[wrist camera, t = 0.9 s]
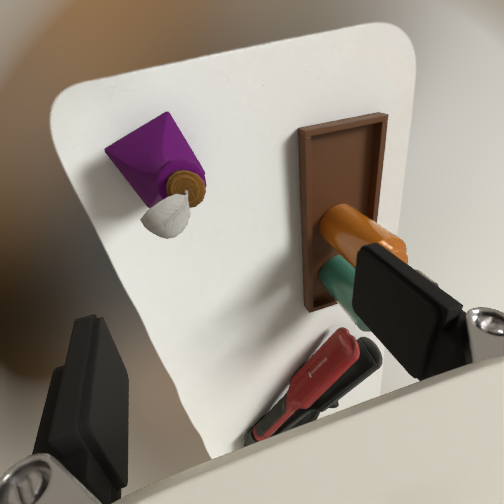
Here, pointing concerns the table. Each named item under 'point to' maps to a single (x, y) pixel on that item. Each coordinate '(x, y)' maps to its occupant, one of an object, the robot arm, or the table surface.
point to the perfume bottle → (161, 174)
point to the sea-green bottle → (341, 285)
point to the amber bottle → (358, 234)
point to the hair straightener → (320, 384)
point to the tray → (336, 186)
